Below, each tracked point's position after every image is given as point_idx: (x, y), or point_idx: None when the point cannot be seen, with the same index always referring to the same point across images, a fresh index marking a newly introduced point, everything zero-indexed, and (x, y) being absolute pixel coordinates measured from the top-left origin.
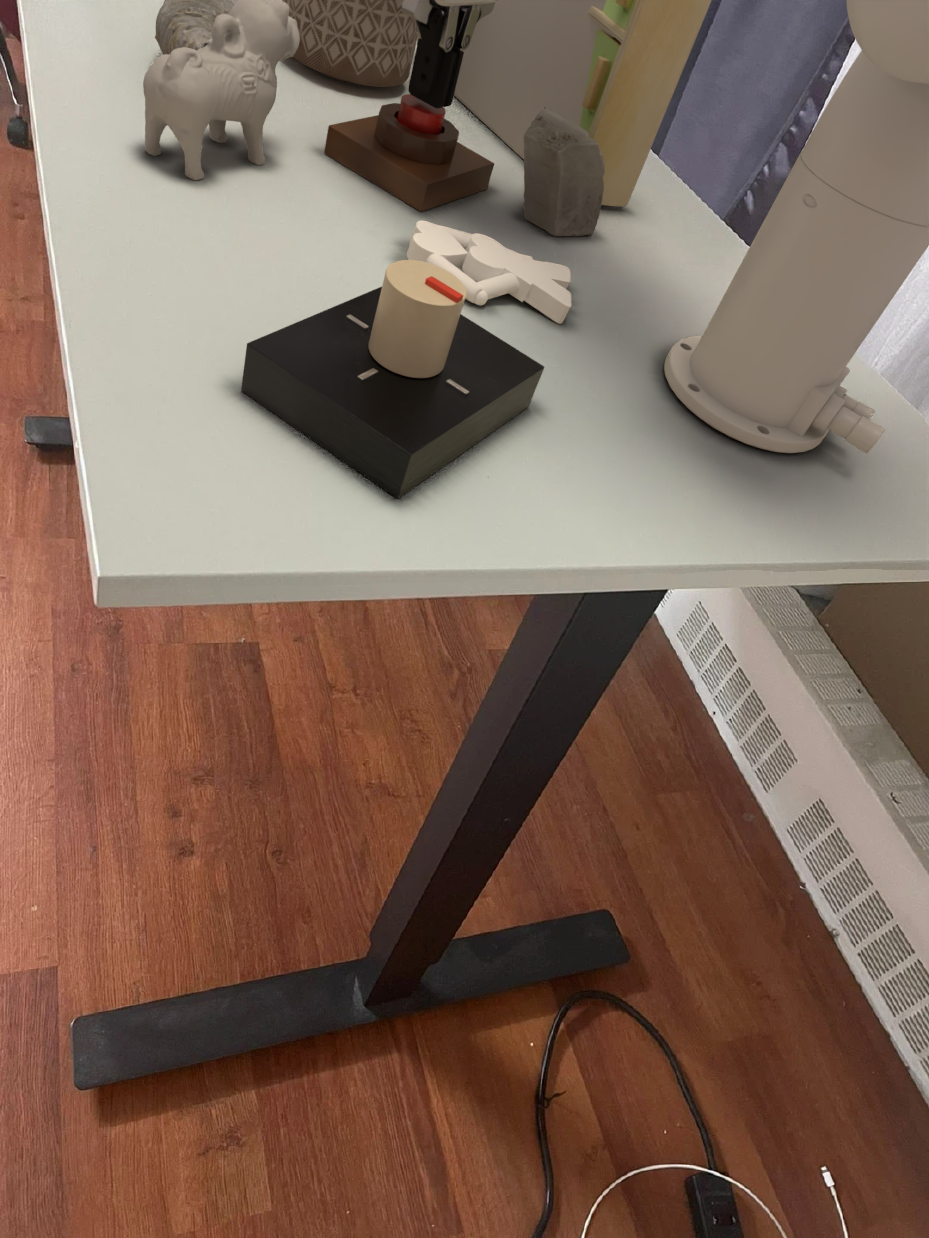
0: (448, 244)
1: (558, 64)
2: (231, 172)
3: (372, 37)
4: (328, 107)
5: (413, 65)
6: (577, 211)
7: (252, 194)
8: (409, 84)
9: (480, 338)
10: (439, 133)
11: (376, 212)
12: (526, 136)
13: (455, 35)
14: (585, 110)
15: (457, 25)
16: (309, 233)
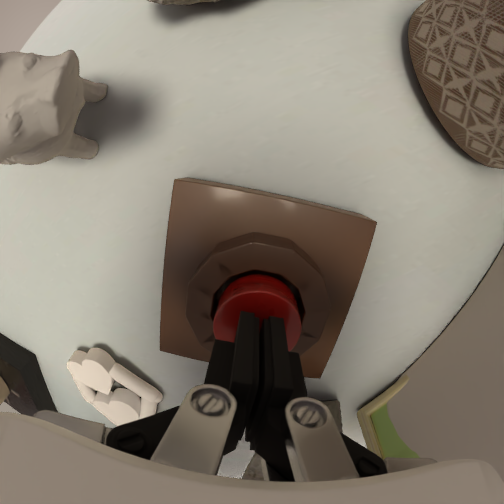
0: (96, 383)
1: (479, 420)
2: (54, 157)
3: (482, 116)
4: (352, 101)
5: (239, 337)
6: None
7: (41, 198)
8: (240, 316)
9: (31, 408)
10: None
11: (120, 297)
12: (254, 459)
13: (265, 457)
14: (407, 455)
15: (285, 468)
16: (41, 271)
